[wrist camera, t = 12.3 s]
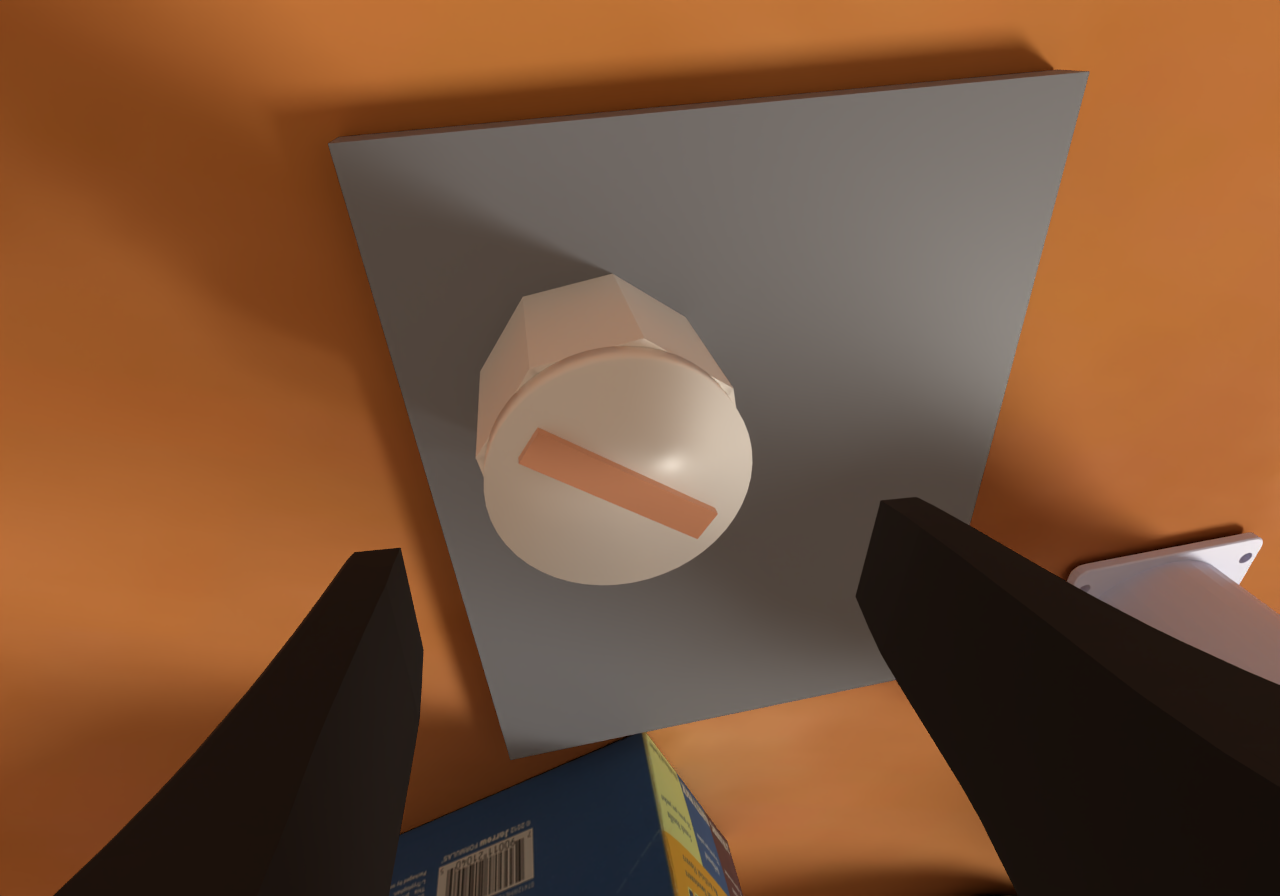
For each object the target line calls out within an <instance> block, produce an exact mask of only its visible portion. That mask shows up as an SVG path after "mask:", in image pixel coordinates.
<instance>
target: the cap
mask: <svg viewBox="0 0 1280 896" xmlns="http://www.w3.org/2000/svg"><path fill="white" fill-rule="evenodd" d="M476 460H477V462H478V465H479V467H480V469H481V472H482V474H483V477H484V497H485V503H486V508H487V511H488V514H489V517H490V520H491V522H492V524H493V526H494V528H495V530H496V531H497V533H498V535H499V536H500V537H501V539H502V540H503V541H504V543H505V544H506V545H507V546H508V547H509V548H510V549H511V550H512V551H513V552H514V553H515V554H516V555H517V556H518V557H519V558H521V559H522V560H523V561H525V562H526V563H527V564H529V565H530V566H532V567H534V568H536V569H537V570H539V571H541V572H543V573H546V574H548V575H551V576H553V577H555V578H559V579H562V580H566V581H569V582H575V583H580V584H588V585H619V584H627V583H633V582H638V581H642V580H647V579H650V578H653V577H656V576H659V575H662V574H664V573H667V572H669V571H671V570H673V569H676V568H678V567H680V566H681V565H683V564H685V563H687V562H688V561H690V560H692V559H693V558H695V557H696V556H698V555H699V554H700V553H702V552H703V551H704V550H706V549H707V548H708V547H709V546H710V545H711V544H712V543H714V542H715V541H716V540H717V539H718V538H719V537H720V535H721V534H722V533H723V532H724V531H725V530H726V529H727V527H728V526H729V525H730V523H731V522H732V521H733V519H734V518H735V516H736V514H737V513H738V511H739V509H740V507H741V505H742V503H743V501H744V498H745V496H746V493H747V491H748V487H749V483H750V479H751V472H752V447H751V443H750V438H749V434H748V431H747V428H746V426H745V423H744V421H743V419H742V417H741V416H740V414H739V412H738V410H737V409H736V403H735V396H734V388H733V387H732V385H731V384H730V382H729V381H728V379H727V378H726V376H725V375H724V374H723V372H722V371H721V369H720V368H719V366H718V365H717V363H716V362H715V360H714V359H713V357H712V356H711V354H710V353H709V351H708V350H707V348H706V347H705V345H704V344H703V342H702V341H701V339H700V338H699V336H698V335H697V333H696V332H695V330H694V329H693V328H692V326H691V325H690V323H689V322H688V320H687V319H686V317H684V316H683V315H681V314H679V313H678V312H676V311H674V310H673V309H671V308H669V307H668V306H666V305H664V304H663V303H661V302H659V301H657V300H656V299H654V298H652V297H651V296H649V295H647V294H646V293H644V292H642V291H641V290H639V289H637V288H636V287H634V286H632V285H631V284H629V283H627V282H626V281H624V280H622V279H621V278H619V277H617V276H616V275H614V274H609V275H605V276H601V277H597V278H593V279H589V280H586V281H582V282H578V283H574V284H570V285H566V286H562V287H559V288H555V289H551V290H547V291H543V292H539V293H535V294H531V295H528V296H524V297H522V299H521V301H520V302H519V304H518V306H517V308H516V309H515V311H514V313H513V315H512V316H511V318H510V320H509V322H508V323H507V325H506V327H505V329H504V331H503V332H502V334H501V336H500V338H499V339H498V341H497V343H496V345H495V346H494V348H493V350H492V352H491V353H490V355H489V357H488V359H487V360H486V362H485V364H484V366H483V367H482V369H481V371H480V384H479V403H478V422H477V441H476Z"/></svg>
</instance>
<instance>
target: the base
mask: <svg viewBox="0 0 1280 896" xmlns="http://www.w3.org/2000/svg"><path fill="white" fill-rule="evenodd" d="M1089 72H1090V71H1072V70H1048V71H1037V72H1027V73H1016V74H1005V75H995V76H984V77H973V78H963V79H952V80H941V81H931V82H920V83H909V84H899V85H888V86H877V87H867V88H856V89H845V90H835V91H824V92H813V93H803V94H792V95H781V96H771V97H760V98H749V99H739V100H728V101H717V102H707V103H696V104H685V105H675V106H664V107H653V108H643V109H632V110H621V111H611V112H600V113H589V114H579V115H568V116H557V117H547V118H536V119H525V120H515V121H504V122H493V123H483V124H472V125H461V126H451V127H440V128H429V129H419V130H408V131H397V132H387V133H376V134H365V135H355V136H344V137H338V138H336V139H335V140H333V141H331V142H330V143H328V146H329V149H330V152H331V156H332V159H333V163H334V166H335V169H336V173H337V176H338V179H339V183H340V186H341V190H342V193H343V196H344V200H345V203H346V206H347V210H348V213H349V217H350V220H351V223H352V227H353V230H354V233H355V237H356V240H357V244H358V247H359V250H360V254H361V257H362V260H363V264H364V267H365V271H366V274H367V277H368V281H369V284H370V287H371V291H372V294H373V298H374V301H375V304H376V308H377V311H378V314H379V318H380V321H381V325H382V328H383V331H384V335H385V338H386V341H387V345H388V348H389V352H390V355H391V358H392V362H393V365H394V369H395V372H396V375H397V379H398V382H399V385H400V389H401V392H402V396H403V399H404V402H405V406H406V409H407V412H408V416H409V419H410V423H411V426H412V429H413V433H414V436H415V439H416V443H417V446H418V450H419V453H420V456H421V460H422V463H423V466H424V470H425V473H426V477H427V480H428V483H429V487H430V490H431V493H432V497H433V500H434V504H435V507H436V510H437V514H438V517H439V520H440V524H441V527H442V531H443V534H444V537H445V541H446V544H447V547H448V551H449V554H450V558H451V561H452V564H453V568H454V571H455V574H456V578H457V581H458V585H459V588H460V591H461V595H462V598H463V601H464V605H465V608H466V612H467V615H468V618H469V622H470V625H471V628H472V632H473V635H474V639H475V642H476V645H477V649H478V652H479V655H480V659H481V662H482V666H483V669H484V672H485V676H486V679H487V682H488V686H489V689H490V693H491V696H492V699H493V703H494V706H495V709H496V713H497V716H498V720H499V723H500V726H501V730H502V733H503V736H504V740H505V743H506V747H507V750H508V753H509V757H510V760H513V759H518V758H523V757H527V756H532V755H537V754H542V753H547V752H551V751H556V750H561V749H566V748H571V747H575V746H580V745H585V744H590V743H595V742H599V741H604V740H609V739H614V738H619V737H624V736H628V735H633V734H638V733H643V732H648V731H652V730H657V729H662V728H667V727H672V726H676V725H681V724H686V723H691V722H696V721H700V720H705V719H710V718H715V717H720V716H725V715H729V714H734V713H739V712H744V711H749V710H753V709H758V708H763V707H768V706H773V705H777V704H782V703H787V702H792V701H797V700H801V699H806V698H811V697H816V696H821V695H826V694H830V693H835V692H840V691H845V690H850V689H854V688H859V687H864V686H869V685H874V684H878V683H883V682H888V681H893V680H896V679H895V677H894V676H893V674H892V672H891V671H890V669H889V667H888V666H887V664H886V662H885V660H884V659H883V657H882V655H881V653H880V651H879V649H878V647H877V645H876V643H875V641H874V638H873V636H872V634H871V632H870V630H869V628H868V625H867V623H866V621H865V618H864V616H863V613H862V611H861V609H860V606H859V604H858V602H857V599H856V597H855V596H856V592H857V588H858V584H859V581H860V577H861V573H862V569H863V565H864V562H865V558H866V554H867V550H868V546H869V543H870V539H871V535H872V531H873V527H874V524H875V520H876V516H877V512H878V508H879V505H880V501H881V500H889V499H899V498H910V497H918V498H920V499H922V500H924V501H926V502H928V503H930V504H932V505H934V506H936V507H938V508H939V509H941V510H943V511H945V512H947V513H948V514H950V515H952V516H954V517H956V518H957V519H959V520H961V521H963V522H964V523H966V524H968V525H970V522H971V518H972V515H973V511H974V507H975V503H976V500H977V496H978V492H979V488H980V484H981V481H982V477H983V473H984V469H985V465H986V462H987V458H988V454H989V450H990V447H991V443H992V439H993V435H994V431H995V428H996V424H997V420H998V416H999V413H1000V409H1001V405H1002V401H1003V397H1004V394H1005V390H1006V386H1007V382H1008V378H1009V375H1010V371H1011V367H1012V363H1013V360H1014V356H1015V352H1016V348H1017V344H1018V341H1019V337H1020V333H1021V329H1022V325H1023V322H1024V318H1025V314H1026V310H1027V307H1028V303H1029V299H1030V295H1031V291H1032V288H1033V284H1034V280H1035V276H1036V272H1037V269H1038V265H1039V261H1040V257H1041V254H1042V250H1043V246H1044V242H1045V238H1046V235H1047V231H1048V227H1049V223H1050V219H1051V216H1052V212H1053V208H1054V204H1055V201H1056V197H1057V193H1058V189H1059V185H1060V182H1061V178H1062V174H1063V170H1064V166H1065V163H1066V159H1067V155H1068V151H1069V148H1070V144H1071V140H1072V136H1073V132H1074V129H1075V125H1076V121H1077V117H1078V114H1079V110H1080V106H1081V102H1082V98H1083V95H1084V91H1085V87H1086V83H1087V79H1088V76H1089ZM609 274H614V275H616V276H617V277H619V278H621V279H622V280H624V281H626V282H627V283H629V284H631V285H632V286H634V287H636V288H637V289H639V290H641V291H642V292H644V293H646V294H647V295H649V296H651V297H652V298H654V299H656V300H657V301H659V302H661V303H663V304H664V305H666V306H668V307H669V308H671V309H673V310H674V311H676V312H678V313H679V314H681V315H683V316H684V317H686V319H687V320H688V322H689V323H690V325H691V326H692V328H693V329H694V330H695V332H696V333H697V335H698V336H699V338H700V339H701V341H702V342H703V344H704V345H705V347H706V348H707V350H708V351H709V353H710V354H711V356H712V357H713V359H714V360H715V362H716V363H717V365H718V366H719V368H720V369H721V371H722V372H723V374H724V375H725V376H726V378H727V379H728V381H729V382H730V384H731V385H732V387H733V388H734V396H735V403H736V409H737V410H738V412H739V414H740V416H741V417H742V419H743V421H744V423H745V426H746V428H747V431H748V434H749V438H750V443H751V447H752V472H751V479H750V483H749V487H748V491H747V493H746V496H745V498H744V501H743V503H742V505H741V507H740V509H739V511H738V513H737V514H736V516H735V518H734V519H733V521H732V522H731V523H730V525H729V526H728V527H727V529H726V530H725V531H724V532H723V533H722V534H721V535H720V537H719V538H718V539H717V540H716V541H715V542H714V543H712V544H711V545H710V546H709V547H708V548H707V549H706V550H704V551H703V552H702V553H700V554H699V555H698V556H696V557H695V558H693V559H692V560H690V561H688V562H687V563H685V564H683V565H681V566H680V567H678V568H676V569H673V570H671V571H669V572H667V573H664V574H662V575H659V576H656V577H653V578H650V579H647V580H642V581H638V582H633V583H627V584H619V585H588V584H580V583H575V582H569V581H566V580H562V579H559V578H555V577H553V576H551V575H548V574H546V573H543V572H541V571H539V570H537V569H536V568H534V567H532V566H530V565H529V564H527V563H526V562H525V561H523V560H522V559H521V558H519V557H518V556H517V555H516V554H515V553H514V552H513V551H512V550H511V549H510V548H509V547H508V546H507V545H506V544H505V543H504V541H503V540H502V539H501V537H500V536H499V535H498V533H497V531H496V530H495V528H494V526H493V524H492V522H491V520H490V517H489V514H488V511H487V508H486V503H485V497H484V477H483V474H482V472H481V469H480V467H479V465H478V462H477V460H476V441H477V422H478V403H479V384H480V371H481V369H482V367H483V366H484V364H485V362H486V360H487V359H488V357H489V355H490V353H491V352H492V350H493V348H494V346H495V345H496V343H497V341H498V339H499V338H500V336H501V334H502V332H503V331H504V329H505V327H506V325H507V323H508V322H509V320H510V318H511V316H512V315H513V313H514V311H515V309H516V308H517V306H518V304H519V302H520V301H521V299H522V297H524V296H528V295H531V294H535V293H539V292H543V291H547V290H551V289H555V288H559V287H562V286H566V285H570V284H574V283H578V282H582V281H586V280H589V279H593V278H597V277H601V276H605V275H609Z"/></svg>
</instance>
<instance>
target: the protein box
mask: <svg viewBox="0 0 1280 896" xmlns="http://www.w3.org/2000/svg"><path fill="white" fill-rule="evenodd" d="M389 896H743V894H742V890H741V887H740V884H739V880H738V877H737V873H736V870H735V866H734V863H733V860H732V856H731V853H730V849H729V846H728V842H727V840H726V839H725V838H724V836H723V835H722V834H721V833H720V831H719V830H718V829H717V828H716V826H715V825H714V823H713V822H712V821H711V819H710V818H709V817H708V815H707V814H706V813H705V811H704V810H703V808H702V807H701V805H700V804H699V803H698V801H697V800H696V799H695V797H694V796H693V795H692V793H691V792H690V791H689V789H688V788H687V786H686V785H685V784H684V782H683V781H682V780H681V778H680V777H679V776H678V774H677V773H676V772H675V770H674V769H673V768H672V767H671V765H670V764H669V763H668V761H667V760H666V758H665V757H664V756H663V755H662V753H661V752H660V751H659V749H658V748H657V747H656V745H655V744H654V743H653V741H652V740H651V739H650V737H649V736H648V735H647V733H646V732H643V733H638V734H634V735H631V736H629V737H627V738H624V739H622V740H620V741H617V742H615V743H613V744H610V745H608V746H606V747H603V748H601V749H599V750H597V751H594V752H592V753H589V754H587V755H585V756H582V757H580V758H578V759H575V760H573V761H571V762H568V763H566V764H564V765H561V766H559V767H557V768H555V769H552V770H550V771H548V772H545V773H543V774H541V775H538V776H536V777H533V778H531V779H529V780H526V781H524V782H522V783H520V784H517V785H515V786H513V787H510V788H508V789H506V790H503V791H501V792H499V793H497V794H495V795H492V796H489V797H487V798H485V799H483V800H480V801H478V802H475V803H473V804H471V805H468V806H466V807H464V808H462V809H459V810H457V811H455V812H452V813H450V814H448V815H445V816H443V817H441V818H438V819H436V820H434V821H431V822H429V823H427V824H424V825H422V826H420V827H417V828H415V829H413V830H410V831H408V832H406V833H403V834H401V835H399V841H398V847H397V852H396V858H395V864H394V869H393V875H392V881H391V887H390V893H389Z"/></svg>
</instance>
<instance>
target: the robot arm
mask: <svg viewBox="0 0 1280 896" xmlns="http://www.w3.org/2000/svg"><path fill="white" fill-rule="evenodd" d="M1262 543H1263V541H1262V539H1261V538H1260V537H1258V536H1257V535H1255V534H1254V533H1243V534H1238V535H1233V536H1228V537H1222V538H1217V539H1212V540H1207V541H1202V542H1196V543H1191V544H1186V545H1181V546H1176V547H1170V548H1165V549H1160V550H1155V551H1150V552H1145V553H1139V554H1134V555H1129V556H1124V557H1119V558H1113V559H1108V560H1103V561H1098V562H1093V563H1087V564H1083V565H1080V566H1078V567H1076V568H1075V569H1074V570H1073V571H1072V572H1071V573H1070V575H1069V577H1068V580H1067V581H1065V580H1063V579H1061V578H1059V577H1058V576H1056V575H1054V574H1052V573H1051V572H1049V571H1047V570H1045V569H1044V568H1042V567H1040V566H1038V565H1037V564H1035V563H1033V562H1031V561H1030V560H1028V559H1026V558H1024V557H1023V556H1021V555H1019V554H1018V553H1016V552H1014V551H1012V550H1011V549H1009V548H1007V547H1006V546H1004V545H1002V544H1000V543H999V542H997V541H995V540H994V539H992V538H990V537H988V536H987V535H985V534H983V533H982V532H980V531H978V530H976V529H975V528H973V527H971V526H970V525H968V524H966V523H964V522H963V521H961V520H959V519H957V518H956V517H954V516H952V515H950V514H948V513H947V512H945V511H943V510H941V509H939V508H938V507H936V506H934V505H932V504H930V503H928V502H926V501H924V500H922V499H920V498H918V497H910V498H899V499H889V500H881V501H880V505H879V508H878V512H877V516H876V520H875V524H874V527H873V531H872V535H871V539H870V543H869V546H868V550H867V554H866V558H865V562H864V565H863V569H862V573H861V577H860V581H859V584H858V588H857V592H856V596H855V597H856V599H857V602H858V604H859V606H860V609H861V611H862V613H863V616H864V618H865V621H866V623H867V625H868V628H869V630H870V632H871V634H872V636H873V638H874V641H875V643H876V645H877V647H878V649H879V651H880V653H881V655H882V657H883V659H884V660H885V662H886V664H887V666H888V667H889V669H890V671H891V672H892V674H893V676H894V677H895V679H896V681H897V682H898V684H899V685H900V687H901V689H902V690H903V692H904V694H905V695H906V697H907V699H908V700H909V702H910V704H911V705H912V707H913V708H914V710H915V712H916V713H917V715H918V717H919V718H920V720H921V721H922V723H923V725H924V726H925V728H926V729H927V731H928V733H929V734H930V736H931V738H932V739H933V741H934V742H935V744H936V746H937V747H938V749H939V750H940V752H941V754H942V755H943V757H944V759H945V760H946V762H947V763H948V765H949V767H950V768H951V770H952V772H953V773H954V775H955V776H956V778H957V780H958V781H959V783H960V785H961V786H962V788H963V790H964V791H965V793H966V795H967V797H968V798H969V800H970V802H971V804H972V806H973V807H974V809H975V811H976V813H977V814H978V816H979V818H980V820H981V822H982V824H983V826H984V828H985V830H986V832H987V834H988V836H989V838H990V840H991V842H992V844H993V846H994V848H995V850H996V852H997V854H998V856H999V858H1000V860H1001V862H1002V864H1003V866H1004V868H1005V870H1006V872H1007V874H1008V876H1009V878H1010V880H1011V882H1012V884H1013V886H1014V888H1015V890H1016V893H1017V895H1018V896H1280V615H1279V614H1278V613H1276V612H1275V611H1274V610H1272V609H1271V608H1270V607H1268V606H1267V605H1265V604H1264V603H1263V602H1261V601H1260V600H1259V599H1257V598H1256V597H1255V596H1253V595H1252V594H1251V593H1249V592H1248V591H1247V590H1245V589H1244V588H1242V587H1241V586H1240V585H1239V584H1240V582H1241V580H1242V579H1243V577H1244V575H1245V574H1246V572H1247V570H1248V568H1249V567H1250V565H1251V563H1252V562H1253V560H1254V558H1255V556H1256V555H1257V553H1258V551H1259V550H1260V548H1261V546H1262ZM422 670H423V646H422V641H421V637H420V632H419V628H418V623H417V619H416V614H415V610H414V605H413V601H412V597H411V592H410V588H409V583H408V579H407V574H406V570H405V565H404V561H403V556H402V552H401V548H393V549H383V550H373V551H363V552H354V553H353V554H352V555H351V556H350V558H349V559H348V560H347V561H346V562H345V564H344V565H343V567H342V568H341V569H340V571H339V572H338V573H337V575H336V576H335V578H334V579H333V580H332V582H331V583H330V585H329V586H328V587H327V589H326V590H325V592H324V593H323V594H322V596H321V597H320V598H319V600H318V601H317V603H316V604H315V605H314V607H313V608H312V609H311V611H310V612H309V613H308V615H307V616H306V617H305V619H304V620H303V621H302V623H301V624H300V625H299V627H298V628H297V629H296V631H295V632H294V633H293V635H292V636H291V637H290V638H289V640H288V641H287V642H286V644H285V645H284V646H283V647H282V649H281V650H280V651H279V652H278V654H277V655H276V656H275V658H274V659H273V660H272V661H271V663H270V664H269V665H268V666H267V668H266V669H265V670H264V672H263V673H262V674H261V675H260V677H259V678H258V679H257V680H256V682H255V683H254V684H253V685H252V687H251V688H250V689H249V690H248V691H247V693H246V694H245V695H244V696H243V697H242V698H241V700H240V701H239V702H238V703H237V704H236V705H235V707H234V708H233V709H232V710H231V711H230V712H229V714H228V715H227V716H226V717H225V718H224V719H223V720H222V722H221V723H220V724H219V725H218V726H217V727H216V729H215V730H214V731H213V732H212V733H211V734H210V736H209V737H208V738H207V739H206V740H205V741H204V743H203V744H202V745H201V746H200V747H199V748H198V749H197V751H196V752H195V753H194V754H193V755H192V756H191V757H190V758H189V759H188V761H187V762H186V763H185V764H184V765H183V766H182V767H181V768H180V769H179V770H178V771H177V772H176V774H175V775H174V776H173V777H172V778H171V779H170V780H169V781H168V782H167V783H166V784H165V785H164V786H163V787H162V789H161V790H160V791H159V792H158V793H157V794H156V795H155V796H154V797H153V798H152V799H151V800H150V801H149V802H148V803H147V804H146V805H145V806H144V807H143V808H142V809H141V810H140V811H139V812H138V813H137V814H136V815H135V816H134V817H133V818H132V819H131V821H130V822H129V823H128V824H127V825H126V826H125V827H124V828H123V829H122V830H121V831H120V832H119V833H118V834H117V835H116V836H115V837H114V838H113V839H112V840H111V841H110V842H109V843H108V844H107V845H106V846H105V847H104V848H103V849H102V850H101V851H100V852H99V853H97V854H96V855H95V856H94V857H93V858H92V859H91V860H90V861H89V862H88V863H87V864H86V865H85V866H84V867H83V868H82V869H81V870H80V871H79V872H78V873H76V874H75V875H74V876H73V877H72V878H71V879H70V880H69V881H68V882H67V883H66V884H65V885H64V886H63V887H62V888H61V889H60V890H59V891H58V892H57V893H56V894H54V895H53V896H389V893H390V887H391V881H392V875H393V869H394V864H395V858H396V852H397V847H398V841H399V835H400V830H401V824H402V818H403V813H404V807H405V801H406V796H407V790H408V784H409V779H410V773H411V767H412V761H413V755H414V749H415V744H416V738H417V732H418V726H419V719H420V705H421V689H422Z"/></svg>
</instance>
